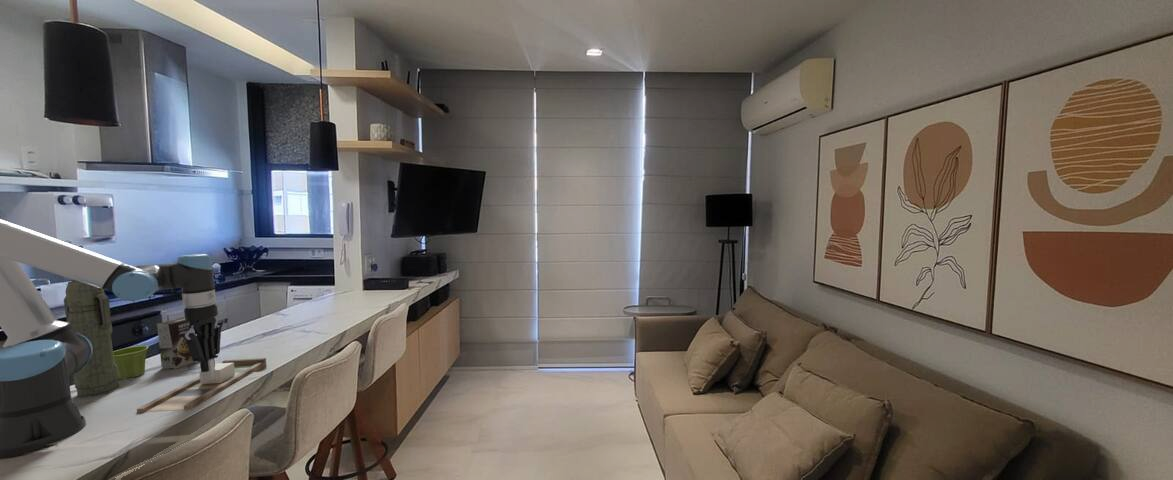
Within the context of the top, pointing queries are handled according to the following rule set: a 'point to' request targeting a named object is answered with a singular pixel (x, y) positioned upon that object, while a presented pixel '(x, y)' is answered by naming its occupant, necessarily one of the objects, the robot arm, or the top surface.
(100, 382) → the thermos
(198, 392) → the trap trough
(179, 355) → the coffee box
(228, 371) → the cream block
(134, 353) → the plant pot
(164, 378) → the top surface
